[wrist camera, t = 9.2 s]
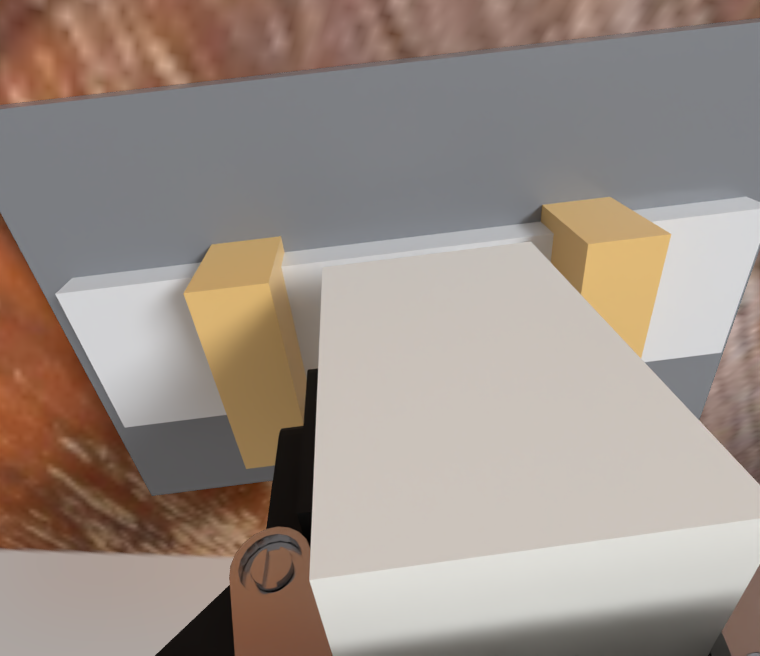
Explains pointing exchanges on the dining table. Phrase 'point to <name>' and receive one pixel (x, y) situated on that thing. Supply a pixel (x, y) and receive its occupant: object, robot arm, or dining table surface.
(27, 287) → the dining table surface
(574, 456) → the block
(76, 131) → the rail board
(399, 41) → the dining table surface
